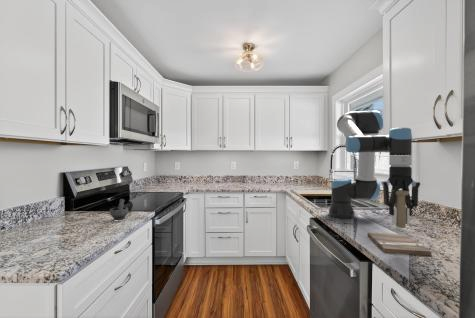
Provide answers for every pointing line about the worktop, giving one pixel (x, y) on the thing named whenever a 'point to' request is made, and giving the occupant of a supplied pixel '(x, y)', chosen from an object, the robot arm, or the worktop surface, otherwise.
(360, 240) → the worktop surface
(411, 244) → the board
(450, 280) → the worktop surface
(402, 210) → the handle
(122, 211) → the mortar and pestle
